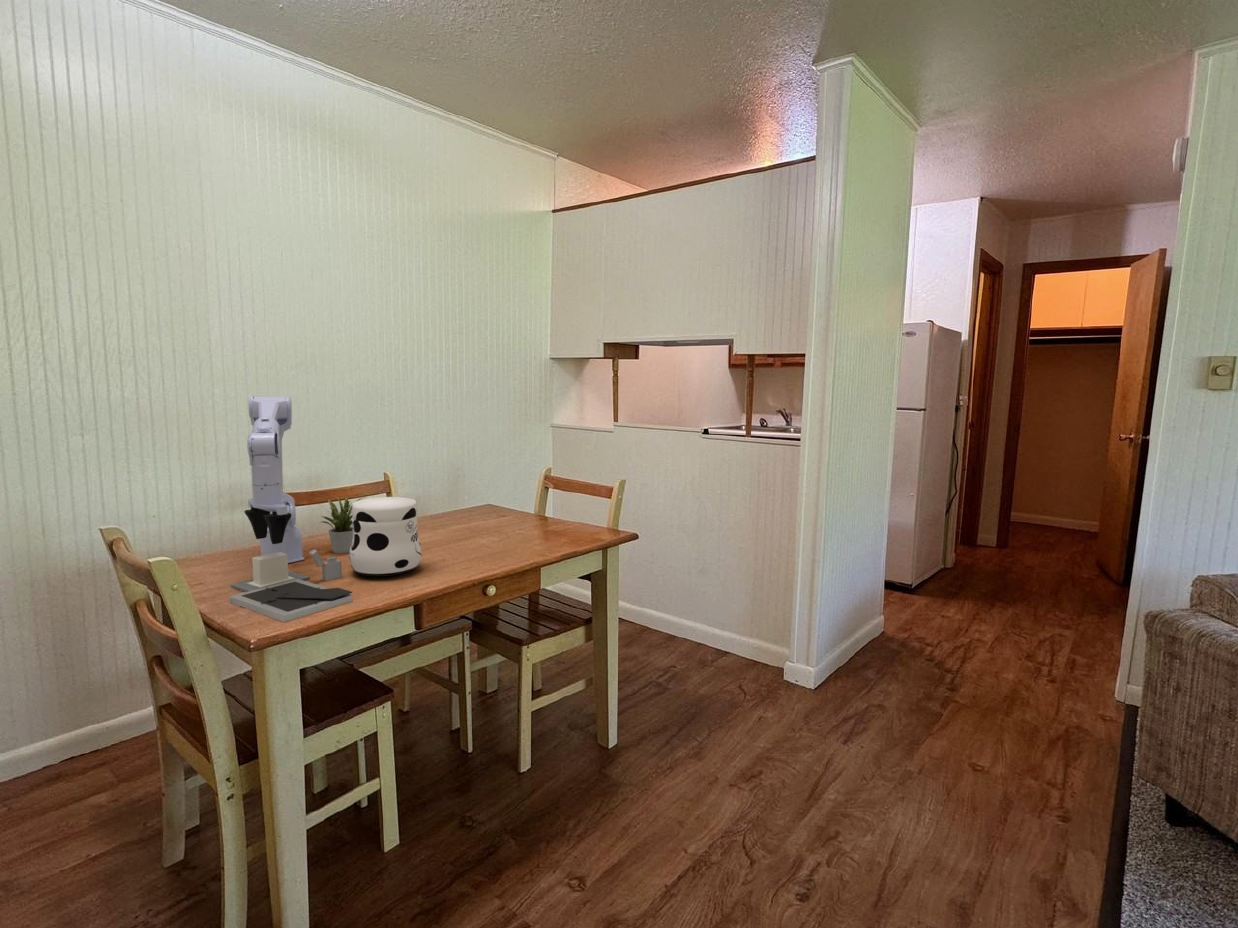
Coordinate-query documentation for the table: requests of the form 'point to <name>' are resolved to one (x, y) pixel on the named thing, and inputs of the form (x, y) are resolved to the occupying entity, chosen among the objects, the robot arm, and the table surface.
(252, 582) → the mat
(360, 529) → the milk container
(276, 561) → the beige rectangular block
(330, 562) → the lighter
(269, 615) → the picture frame
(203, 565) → the table surface
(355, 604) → the table surface
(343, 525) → the house plant
